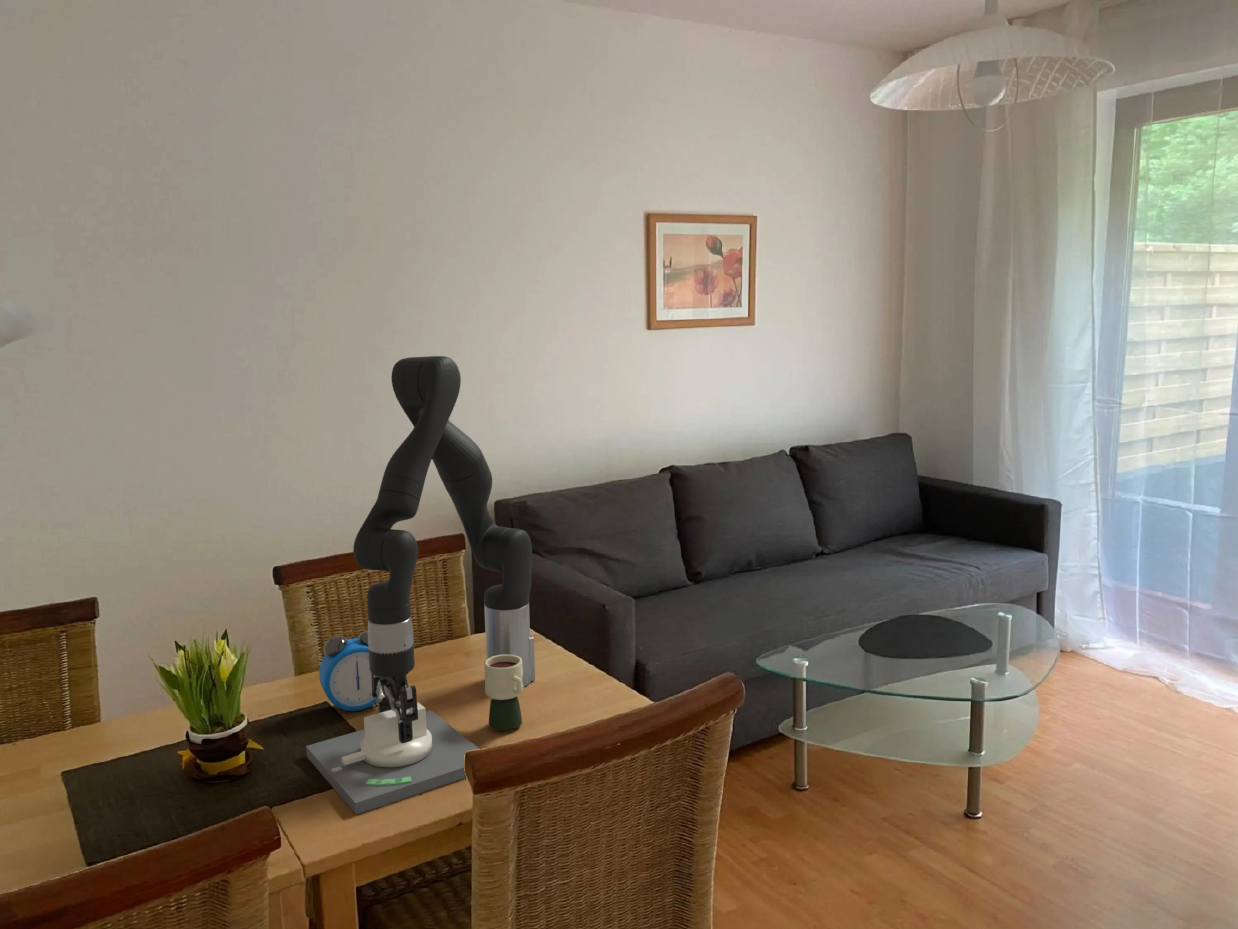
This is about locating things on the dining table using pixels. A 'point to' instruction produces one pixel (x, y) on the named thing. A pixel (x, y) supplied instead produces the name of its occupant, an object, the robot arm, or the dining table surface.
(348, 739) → the dial board
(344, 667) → the alarm clock
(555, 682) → the dining table surface
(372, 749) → the dial
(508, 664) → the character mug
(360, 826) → the dining table surface
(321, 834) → the dining table surface
